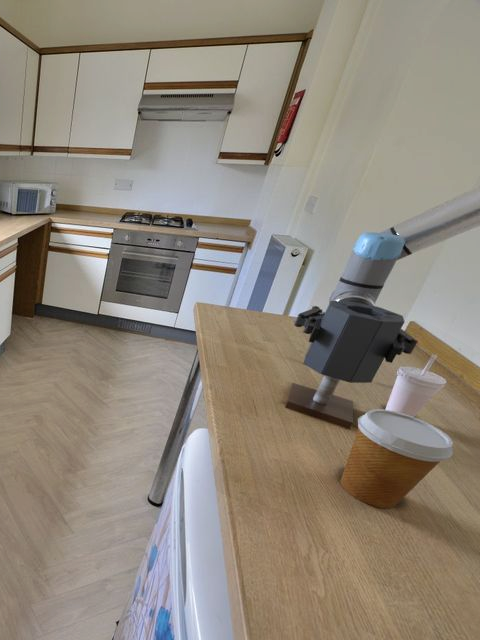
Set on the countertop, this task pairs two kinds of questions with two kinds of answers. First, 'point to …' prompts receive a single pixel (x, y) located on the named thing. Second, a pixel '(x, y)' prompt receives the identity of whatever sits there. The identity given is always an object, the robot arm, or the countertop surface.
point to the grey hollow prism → (353, 341)
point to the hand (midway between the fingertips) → (351, 345)
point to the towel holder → (321, 402)
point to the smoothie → (414, 389)
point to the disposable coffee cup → (392, 456)
